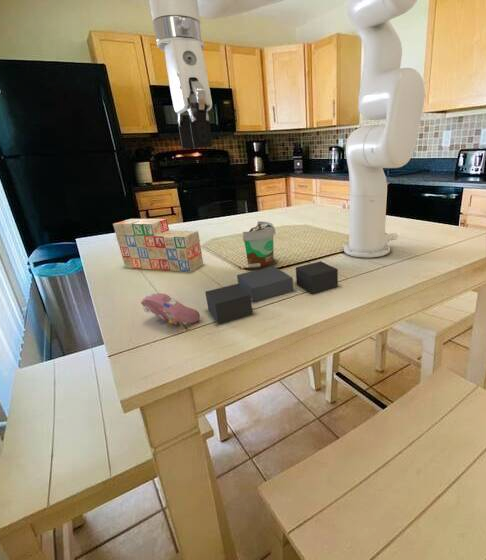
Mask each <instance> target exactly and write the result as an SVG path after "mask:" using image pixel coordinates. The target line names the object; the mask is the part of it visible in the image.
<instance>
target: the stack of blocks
mask: <svg viewBox="0 0 486 560" xmlns="http://www.w3.org/2000/svg"><path fill="white" fill-rule="evenodd" d="M112 227H113V229H114V233H115V237H116V240H117V244H118V247H119V251H120V255H121V257H122V261H123V264H124V267H125V268H128V269H139V270H140V269H141V270H157V271H171V272H172V271H173V272H174V271H175V272H186V273H191V272H193V271H194V270H196V269H198V268H199V267H201V266H203V265H204V260H203V259H204V258H203V255H202V247H201V239H200V234H199V230H187V229H185V230H183V229H182V230H181V229H170V227H169V223H168V219H167V218H129V219H125V220H121V221H119V222H114V223H112Z"/></svg>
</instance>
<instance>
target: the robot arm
mask: <svg viewBox="0 0 486 560" xmlns="http://www.w3.org/2000/svg"><path fill="white" fill-rule="evenodd" d="M148 1H149V7H150V14H151V17H152V19H151V20H152V25H153V30H154V34H155V35H154V36H155V42H156V47H157V48H158V50H160V51H163V52H164V57H165V66H166V71H167V78H168V84H169V90H170V96H171V101H172V107H173V110H174V112H175V113H176V114H177V123H178V124H177V125H178V131H179V132H178V133H179V137H180V143H181V148H182V149H184V150H185V149H187V150H188V149H202V148H212V147H213V137H212V131H211V123H210V116H209V113H208V112H209V111H211V109H212V108H213V100H212V95H211V89H210V82H209V77H208V71H207V67H206V66H207V65H206V61H205V57H204V52H203V50H204V48H205V45H204V37H203V29H202V23H201V22H202V21H201V18H204V19H210V20H214V19H221V18H226V17H231V16H237V15H240V14H244V13H247V12H251V11H254V10H256V9H260V8H263V7H266V6H270V5H274V4H277V3H280V2H282V1H284V0H148ZM417 2H418V0H347V5H346V6H347V7H346V8H347V15H348V19H349V21H350V23H351V24H352V26H353V28H354V29H355V31H356V32H357V34H358V36H359V39H360V40H361V44H362V46H363V55H364V56H363V65H362V71H361V79H360V85H359V92H358V101H357V104H358V105H357V109H358V112H359V114H360V116H361V117H362V118H363V119H365V120H368V121H381V120H385V123H384V124H383V123H382V124H374V125H373V124H372V125H365V126H361V127H359V128H357V129H354V130H353V131H352V132H351V133H350V134H349V136H348V137H347V139H346V142H345V157H346V158H345V159H346V164H347V168H348V169H347V170H348V178H349V180H348V182H349V183H348V184H349V187H348V188H349V197H348V199H349V203H348V205H349V208H348V209H349V210H348V211H349V213H348V217H349V218H348V219H349V220H348V223H349V224H348V231H349V232H348V238H349V239H348V243H346V244H344V246H343V252H344V253H345V254H346V255H348V256H351V257H354V258H355V257H356V258H365V259H366V258H367V259H368V258H369V259H370V258H371V259H372V258H379V257H383V256H386V255H388V254H389V253H390V252H391V246H390V245H389V244H388V243H389V242H390V241H395V240H397V239H398V234H397V232H392V233H387V232H386V219H387V218H386V217H387V216H386V215H387V197H388V182H387V181H388V180H387V177H386V173H385V171H384V169H399V168H402V167H403V166H404V167H405V166H406V165H407V164H408V163H409V162H410V160H411V158H412V157H413V155H414V151H415V149H416V145H417V139H418V135H419V130H420V125H421V120H422V115H423V110H424V104H425V98H426V97H425V95H426V92H425V91H426V88H425V84H424V83H425V82H424V79H423V77H422V75H421V74H420V72H419V71H417V70H416V69H415V68H412V67H402V68H401V65H402V57H403V45H402V42H401V39H400V37H399V36H400V35H398V33H397V31H396V29H395V27H394V26H393V24H392V22H391V20H393V19H395V18H397V17H400V16H403V15H405V14H406V13H408V12H409V11H410V10H411V9H412V8H413V7H414V6H415V5H416V3H417Z"/></svg>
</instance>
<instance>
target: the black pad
mask: <svg viewBox="0 0 486 560" xmlns="http://www.w3.org/2000/svg"><path fill="white" fill-rule="evenodd" d="M204 293H205V299H206V304H207V305H206V306H207V310H208V312H209V314H210V315H211V316H212V318H213V319H214V320H215V322H216V323H217V324H218V325H221V324H225V323H228V322H232V321H234V320H238V319H242V318H245V317H248V316H252V315H253V314H254V313H253V306H252V299H251V296H250V294H249V293H248V292H247V291H246V290H245V289H243V288H242V287H241V286H240V285H239V284H238V283H234V284H230V285H225V286H222V287H218V288H214V289H210V290H206V291H205V292H204Z"/></svg>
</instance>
